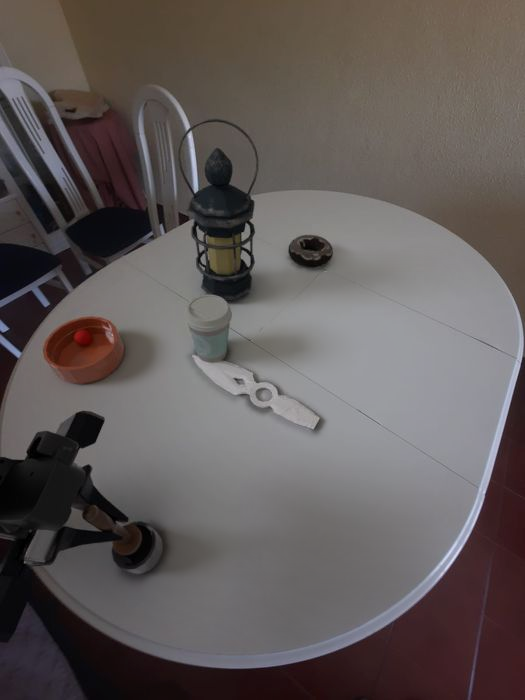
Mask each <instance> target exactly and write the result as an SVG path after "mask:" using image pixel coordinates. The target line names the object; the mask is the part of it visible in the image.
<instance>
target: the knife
mask: <svg viewBox="0 0 525 700" xmlns="http://www.w3.org/2000/svg"><path fill="white" fill-rule="evenodd" d="M191 357H192V359H193V360H194V362H195V364H196V366H197V367H199V369H200V370H201V371H202V372H203V373H204V375H205V376H207V377H208V378H209V379H210V380H211V381H212V382H213V383H215V384H216V385H218V386H219V387H221V388H222V389H224V390H225V391H227V392H228V393H230V394H232V395H233V396H239V395H249V398H250V401H251V402H252V404H253V405H255V406H256V407H258V408H262V409H263V408H264V409H266V408H271V409H272V410H273V413H275V414H277V415H278V416H280V417H281V416H282V417H283V418H285V419H286V420H288V421H290V422H292V423H294V424H296V425H300V426H302V427H306V428H309V429H312V430H314V429H315V427H316V426H317V424H318V423H319V422H320V416H319V415H317V414H315V413H314V412H313V411H312V410H311V409H310V408H308V407H306V405H304V404H303V403H300V401H298V400H296V398H295V399H294V398H291V397H289V396H287V395H285V394H284V395H283V394H279V393H278V390H277V389H278V388H277V387H276V386H275V385H273V384H272V383H270V382H265V381H261V382H257V381H255V378H254V372H252V371H250V370H248V369H246V368H244V367H242V366H239V365H238V364H234V363H233V362H229V361H226V360H224V359H223V360H221V361H219V362H216V363H208V362H205V361H202V360H201V359H200V358H199V357H198V354H197V355H196V354H191ZM236 379H239V380H243V383H244V384H239V383H238V382H237V381H236ZM261 389H267V390H268V391H270V392H271V394H272V395H271V399H269V400H267V401H262V400H260V399H259V398H257V395H256V393H257V391H258V390H261Z"/></svg>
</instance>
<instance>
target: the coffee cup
mask: <svg viewBox="0 0 525 700" xmlns="http://www.w3.org/2000/svg"><path fill="white" fill-rule="evenodd" d="M232 319H233V313H232V309H231V307H230V305H229V303H228V302H227V300H224V299H223V298H221V297H219V296H216V295H209V294H202V295H198V296H196V297H194V298H192V299H191V300H189V302H188V303H187V305H186V308H185V310H184V322H185V323H186V325H187V326H188V329H189V332H190V335H191V338H192V341H193V345H194V348H195V351H196V354H197V356H198V357H199V358H200V359H201V360H202V361H205V362H208V363H216V362H219V361H221V360H223V361H224V359H225V358H226V356H227V353H228V352H227V351H228V343H229V334H230V324H231V320H232Z"/></svg>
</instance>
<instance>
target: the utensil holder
mask: <svg viewBox="0 0 525 700" xmlns="http://www.w3.org/2000/svg"><path fill="white" fill-rule="evenodd" d="M129 524H132V525H135V526H136V527H137V528H138V529H139V530H140V531H141V533H142V541H141V544H140V546H139V548H138V549H137V550H136V551H135V552H134V553H132V554H130V555H127V556H124V555H121V554H119V553H117V552H116V551H115V550H114V548H113V545H112V546H111V556H112V560H113V562H114V563H115V565H116V566H117V567H118V568H120V569H122V570H124V571H125V572H126V571H127V572H129V573H132V574H134V575H142V574H146V573H147V572H150V571H151V570H153V569H154V567H156V565H158V562H159V561H160V559H161V557H162V554H163V547H164V544H163V540H162V537H161V535H160V534H159V533H158V532H157V531H156V530H155V529H154V528H153V526H151V525H150V524H149V523H147V522H145V521H142V520H140V521H139V520H138V521H132V522H130V523H129Z"/></svg>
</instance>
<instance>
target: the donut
mask: <svg viewBox="0 0 525 700" xmlns="http://www.w3.org/2000/svg"><path fill="white" fill-rule="evenodd" d="M287 251H288V255H289V257H290V260H292V261H293V262H294V263H295V264H297V265H298V266H301V267H304V268H313V269H314V268H315V269H316V268H320V267H322V266H326V265H327V264H328V263H329V262H330V261H331V259H332V258H333V256H334V248H333V246H332V244H331V243H330V241H329V240H328V239H326V238H325V237H322V236H319V235H317V234H303V235H300V236H297V237H295V238H294V239H292V240H291V242H290V243H289V245H288V250H287Z"/></svg>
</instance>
